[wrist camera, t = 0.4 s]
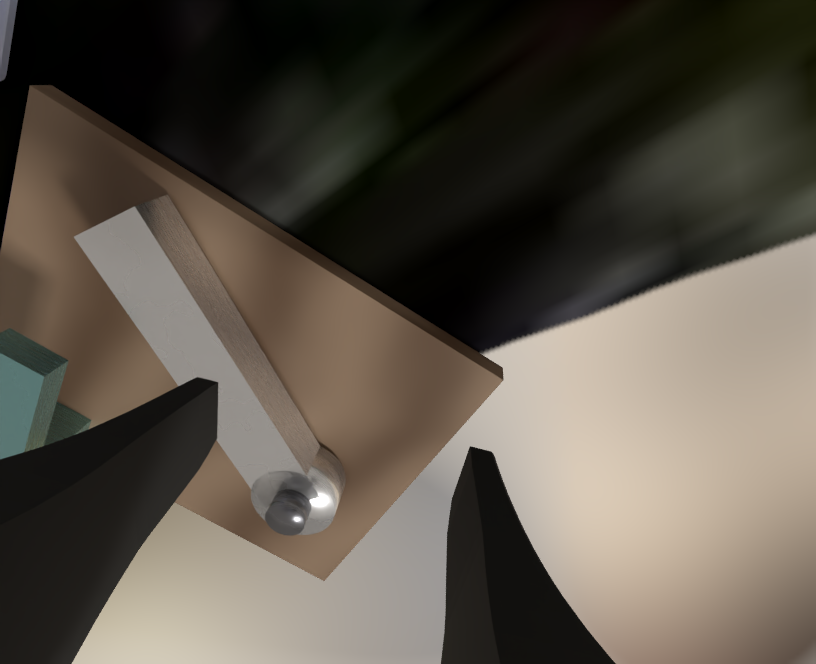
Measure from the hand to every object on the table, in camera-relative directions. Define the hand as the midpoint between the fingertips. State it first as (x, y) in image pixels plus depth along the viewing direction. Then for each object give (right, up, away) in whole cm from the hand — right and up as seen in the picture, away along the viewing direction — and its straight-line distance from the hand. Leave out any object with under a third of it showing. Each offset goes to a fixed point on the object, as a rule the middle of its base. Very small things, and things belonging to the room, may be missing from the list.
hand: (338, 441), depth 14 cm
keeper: (-14, +1, +10) cm, 17 cm away
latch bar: (-5, +1, +8) cm, 10 cm away
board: (-7, +1, +10) cm, 13 cm away
